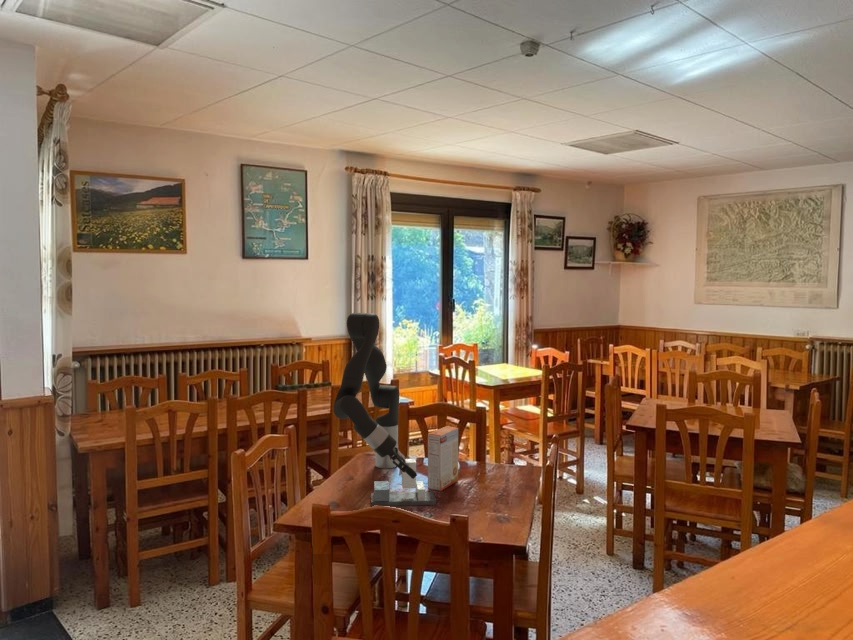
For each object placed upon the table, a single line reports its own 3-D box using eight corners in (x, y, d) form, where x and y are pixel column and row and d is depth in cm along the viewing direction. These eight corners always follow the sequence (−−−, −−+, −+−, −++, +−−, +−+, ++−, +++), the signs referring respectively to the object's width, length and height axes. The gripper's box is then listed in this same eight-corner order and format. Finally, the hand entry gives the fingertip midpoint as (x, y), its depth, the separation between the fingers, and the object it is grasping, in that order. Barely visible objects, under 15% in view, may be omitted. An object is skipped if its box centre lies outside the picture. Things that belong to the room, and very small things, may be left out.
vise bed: (371, 497, 223) (371, 482, 222) (433, 495, 225) (433, 480, 225) (371, 506, 214) (371, 490, 213) (436, 504, 216) (436, 489, 216)
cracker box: (444, 478, 245) (445, 425, 243) (458, 481, 241) (459, 427, 240) (426, 488, 233) (426, 432, 231) (440, 491, 229) (441, 435, 228)
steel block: (401, 484, 221) (402, 458, 221) (414, 484, 222) (415, 458, 221) (402, 488, 217) (403, 462, 216) (415, 488, 217) (416, 462, 217)
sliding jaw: (373, 492, 223) (374, 481, 222) (388, 492, 223) (388, 481, 223) (374, 501, 214) (374, 489, 214) (389, 501, 214) (389, 489, 214)
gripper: (388, 437, 210) (424, 473, 212) (386, 428, 224) (420, 461, 226) (372, 453, 210) (408, 488, 212) (371, 442, 224) (405, 475, 226)
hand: (414, 474), depth 219 cm, fingers closed on steel block, 4 cm apart
